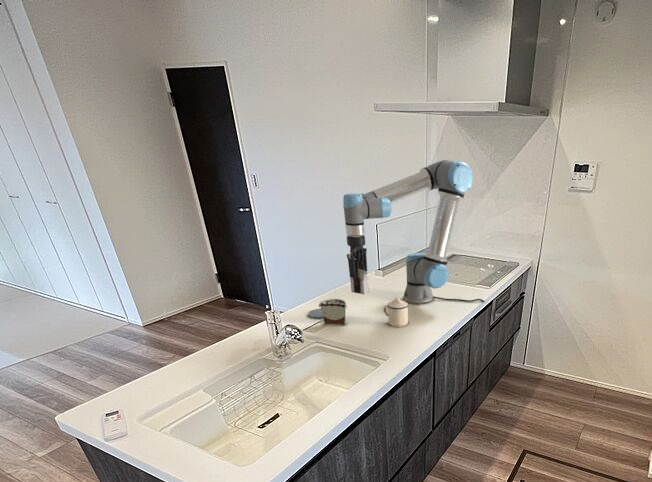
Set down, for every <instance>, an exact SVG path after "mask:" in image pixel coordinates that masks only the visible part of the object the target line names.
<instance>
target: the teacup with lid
mask: <svg viewBox="0 0 652 482" xmlns="http://www.w3.org/2000/svg"><path fill="white" fill-rule="evenodd" d="M408 307H409V304H408V302H406V301H404V300H402V299H400V297H395V298H394V299H393V300H391V301H388V303H387V305H385V306H384V307H383V313H384V315H385V316H386V317H388V324H389V325H390V326H391V327H395V328H396V327H397V328H399V327H405V326H407V325H408V323H409V316H408V315H409V313H408Z"/></svg>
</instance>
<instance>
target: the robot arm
mask: <svg viewBox="0 0 652 482" xmlns="http://www.w3.org/2000/svg"><path fill="white" fill-rule="evenodd" d="M473 174H474V173H473V171H472V169H471V167H470V166H469V165H468V164H467V163H465V162H463V161H460V160H459V161H458V160H449V159H448V160H447V159H443V160H438V161H436V162H434V163H432V164H429V165H427V166H425V167H421V168H420V170H419V172H416V173H414V174H412V175H409V176H406V177H404V178H402V179H399V180H396V181H394V182H391V183H388V184H386V185H384V186H381V187H379V188H377V189H374V190H371V191H368V192H366V193H345V194H344V195H343V197H342V198H343V199H342V202H343V203H342V204H343V205H342V207H343V214H344V222H345V223H344V224H345V226H344V228H345V233H346V235H347V236H346V244H347V246H348V247H349V253H347V254H346V258H347V262H348V263H347V264H348V272H349V278H353V282H354V292H355V293H354V294H359V293H361V289H360V278H358V270H359V269H360V270H365V272H366V275H368V260H367V258H368V257H367V253H368V249H367V248H366V247H364V246H365V245H366V236H365V234H366V232H365V231H366V230H365V220H369V219H372V220H373V219H384V218H389V217H390V216H391V214H392V204H394V203H396V202H399V201H402V200H405V199H406V198H409V197H412V196H414V195H416V194H418V193H421V192H424V191H426V192H430V191H433V190H437V193H438V196H439V201H438V206H437V210H436V213H435V214H436V215H435V219H434V223H433V227H432V232H431V236H430V241H429V244H428V250H427V252H414V253H409V254H407V255H406V260H405V265H406V269H405V270H406V286H405V290H404V291H403V301H405V302H407V304H408V303H409V304H413V305H414V304H415V305H423V304H429V303H431V302H433V301H434V299H436V300H441V301H455V302H456V301H457V302H467V303H473V302H477V301H481V302H482V303H485V301H484V300H483V299H481V298H475V299H460V298H446V297H445V298H444V297H439V296H434V294H433V291H432V289H434V290H435V289H439V288H442V287H443V286H445V285H446V283H447V282H448V280H449V278H450V277H449V276H450V272H449V269H448V267H447V265H448V262H449V261H448V258H447V252H448V248H449V244H450V241H451V236H452V232H453V228H454V225H455V224H454V223H455V220H456V215H457V212H458V207H459V203H460V202H461V201H462V200H464V197H465V194H466V192H467V193H468V191H469V190H470V189H471V188H472V186H473V182H474V175H473ZM483 350H486V343H483Z"/></svg>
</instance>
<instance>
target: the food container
mask: <svg viewBox="0 0 652 482" xmlns="http://www.w3.org/2000/svg"><path fill="white" fill-rule="evenodd" d="M318 307H319V308H320V309H321V312H322V316H323V318H322V319H323V320H322V321H323V323H324V325H329V326H346V319H347V318H346V309H347V307H348V305H347V303H346V301H345V300H344V299H339V298H329V299H328V298H327V299H324V300H321V301H320V302H319V303H318Z"/></svg>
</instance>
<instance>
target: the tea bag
mask: <svg viewBox="0 0 652 482" xmlns="http://www.w3.org/2000/svg"><path fill="white" fill-rule="evenodd" d="M358 278H360V289H361V293H358V294H360V295H366V294H368V293H370V287H369V277H368V274H366V272H365V270H360V269H359V270H358ZM349 280H350V289H351V293H352V294H353V293H354V294H356V293H355V292H354V282H353V278H351V277H349Z"/></svg>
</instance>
